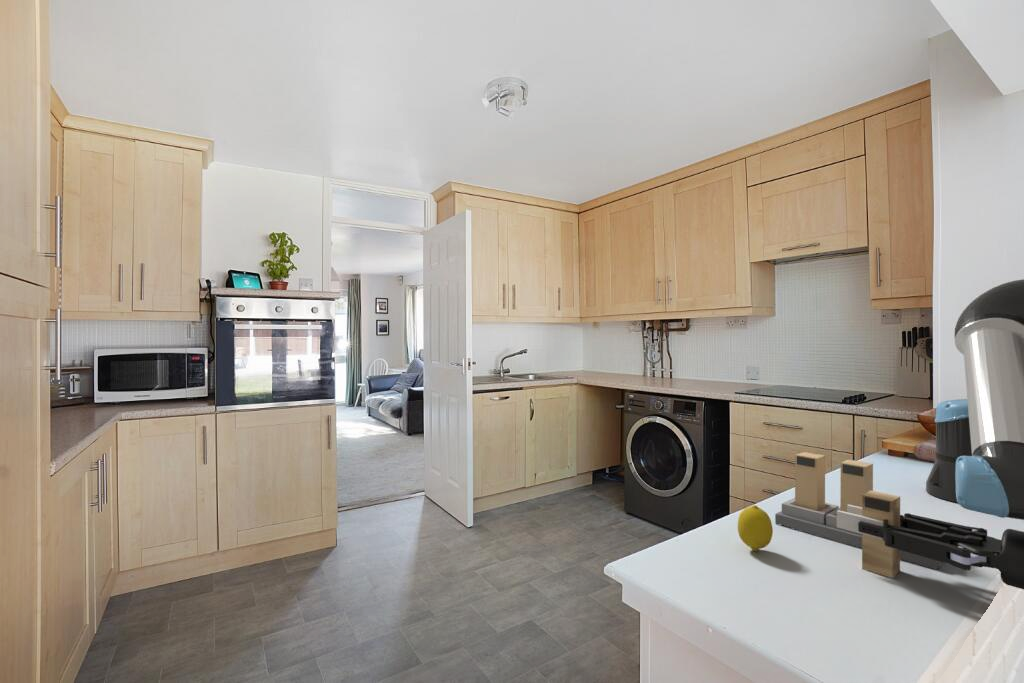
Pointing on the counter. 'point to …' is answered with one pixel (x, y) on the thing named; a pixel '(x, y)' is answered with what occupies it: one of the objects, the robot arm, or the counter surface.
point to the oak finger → (874, 549)
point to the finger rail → (822, 517)
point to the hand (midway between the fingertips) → (843, 515)
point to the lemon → (755, 527)
